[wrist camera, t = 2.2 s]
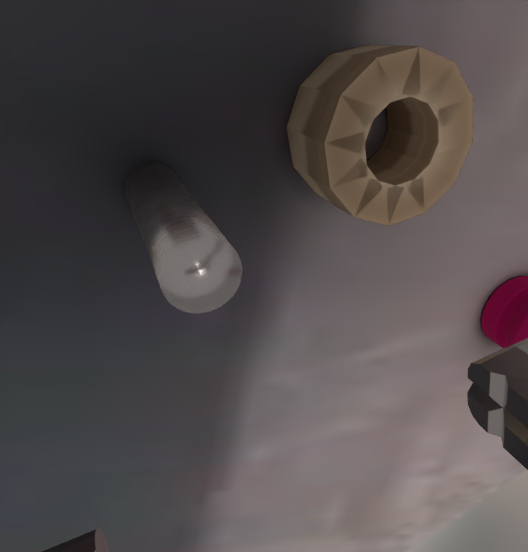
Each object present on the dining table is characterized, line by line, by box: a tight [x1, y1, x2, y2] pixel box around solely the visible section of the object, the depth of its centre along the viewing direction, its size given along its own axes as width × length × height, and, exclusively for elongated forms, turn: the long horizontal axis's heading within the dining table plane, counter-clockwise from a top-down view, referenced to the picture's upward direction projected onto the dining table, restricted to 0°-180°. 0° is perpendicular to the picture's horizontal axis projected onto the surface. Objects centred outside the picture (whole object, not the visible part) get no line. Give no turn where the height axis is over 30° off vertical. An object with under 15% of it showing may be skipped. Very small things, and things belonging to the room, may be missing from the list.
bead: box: [287, 45, 473, 226], centre depth 28 cm, size 9×9×5 cm
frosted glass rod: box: [125, 162, 242, 313], centre depth 23 cm, size 3×3×12 cm
